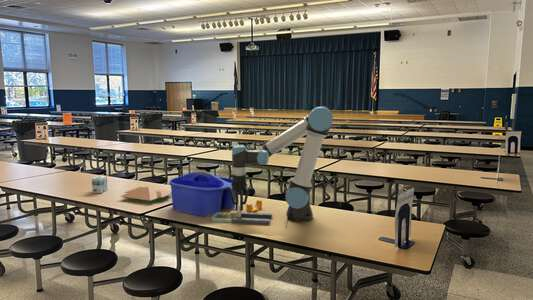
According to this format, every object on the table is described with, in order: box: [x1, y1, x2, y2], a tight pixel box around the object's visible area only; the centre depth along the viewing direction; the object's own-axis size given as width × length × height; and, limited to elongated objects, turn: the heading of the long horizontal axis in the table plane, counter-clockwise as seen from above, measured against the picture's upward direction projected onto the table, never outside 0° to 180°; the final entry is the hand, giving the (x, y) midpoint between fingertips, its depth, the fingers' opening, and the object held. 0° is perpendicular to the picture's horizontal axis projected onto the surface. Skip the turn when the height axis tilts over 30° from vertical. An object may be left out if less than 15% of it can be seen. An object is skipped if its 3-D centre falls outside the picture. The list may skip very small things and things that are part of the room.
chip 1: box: [222, 211, 231, 219], centre depth 206 cm, size 4×4×4 cm
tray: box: [210, 211, 232, 223], centre depth 207 cm, size 12×12×3 cm
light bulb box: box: [91, 175, 108, 194], centre depth 270 cm, size 11×7×11 cm, turn 179°
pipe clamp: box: [245, 199, 263, 213], centre depth 222 cm, size 12×4×6 cm, turn 145°
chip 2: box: [229, 210, 239, 219], centre depth 205 cm, size 4×4×4 cm
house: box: [120, 186, 172, 205], centre depth 253 cm, size 23×33×8 cm
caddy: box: [168, 170, 236, 217], centre depth 230 cm, size 32×45×23 cm
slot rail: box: [231, 211, 273, 226], centre depth 204 cm, size 20×13×4 cm, turn 82°
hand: (239, 216), depth 205 cm, fingers closed
